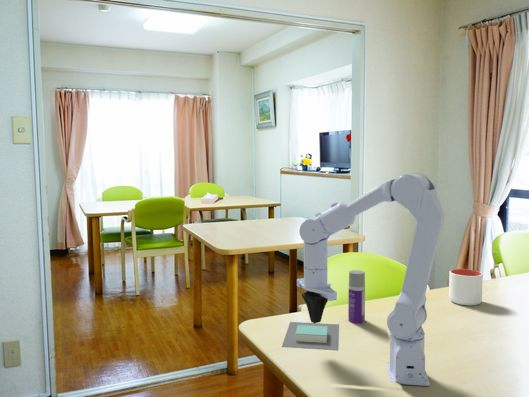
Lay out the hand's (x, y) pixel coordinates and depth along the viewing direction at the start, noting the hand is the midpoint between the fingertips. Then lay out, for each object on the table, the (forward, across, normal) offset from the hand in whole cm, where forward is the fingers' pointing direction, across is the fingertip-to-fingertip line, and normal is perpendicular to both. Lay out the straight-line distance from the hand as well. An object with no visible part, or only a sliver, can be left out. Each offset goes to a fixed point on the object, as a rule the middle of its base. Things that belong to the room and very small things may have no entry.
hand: (315, 321), depth 112 cm
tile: (+6, +4, -2) cm, 8 cm away
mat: (+8, +8, -4) cm, 12 cm away
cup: (+8, +10, -66) cm, 67 cm away
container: (+8, +12, -22) cm, 26 cm away
